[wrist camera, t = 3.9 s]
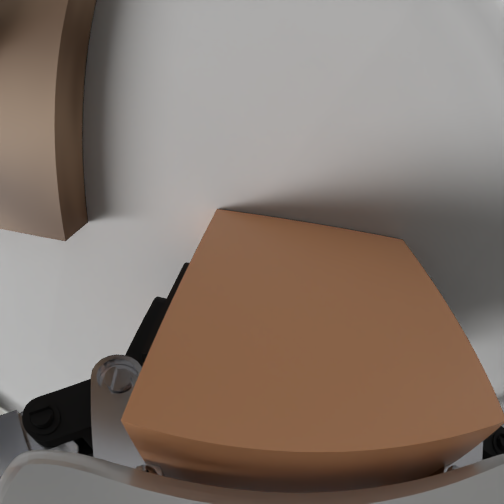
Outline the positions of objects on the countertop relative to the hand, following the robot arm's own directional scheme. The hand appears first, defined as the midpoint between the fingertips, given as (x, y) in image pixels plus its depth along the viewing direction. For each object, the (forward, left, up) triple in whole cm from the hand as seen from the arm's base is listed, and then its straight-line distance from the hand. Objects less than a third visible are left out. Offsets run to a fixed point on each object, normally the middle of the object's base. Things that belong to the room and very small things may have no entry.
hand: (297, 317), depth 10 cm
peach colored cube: (0, 0, -1) cm, 1 cm away
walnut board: (+10, +16, -1) cm, 19 cm away
